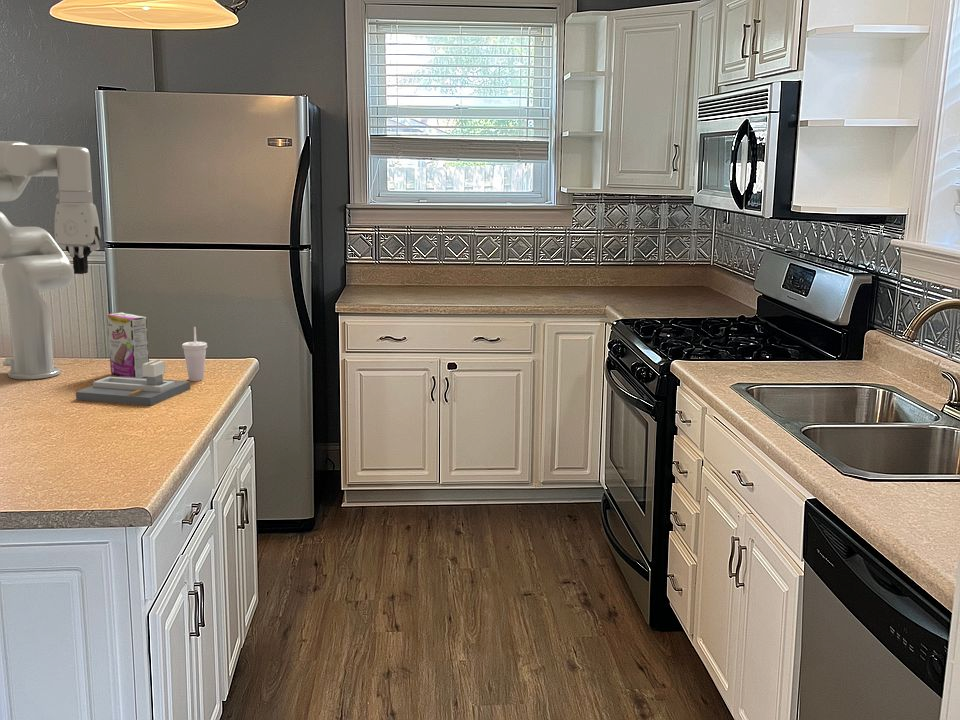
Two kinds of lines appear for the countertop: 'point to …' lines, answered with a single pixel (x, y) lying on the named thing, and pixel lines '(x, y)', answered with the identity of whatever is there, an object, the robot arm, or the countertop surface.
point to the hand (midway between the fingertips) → (81, 273)
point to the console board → (131, 391)
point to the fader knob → (154, 372)
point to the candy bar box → (127, 344)
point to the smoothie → (195, 358)
